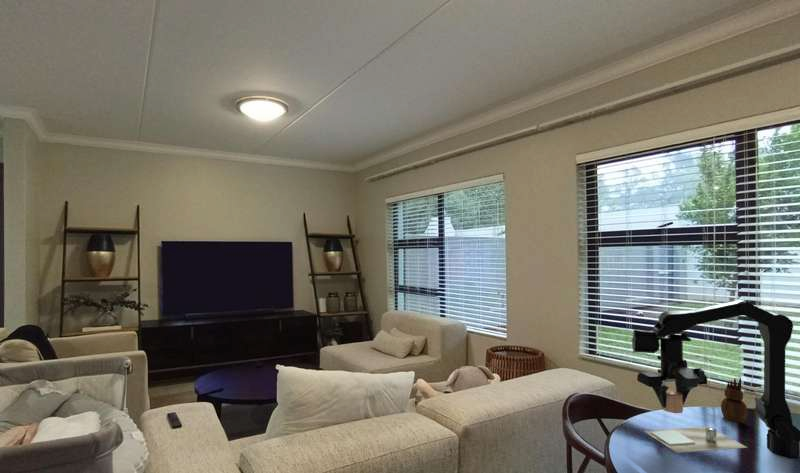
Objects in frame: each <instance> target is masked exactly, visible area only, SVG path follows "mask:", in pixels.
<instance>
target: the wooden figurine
mask: <svg viewBox="0 0 800 473" xmlns="http://www.w3.org/2000/svg"><path fill="white" fill-rule="evenodd" d="M726 384H727V385H726V388H725V389H724V396H725V397H724V398H723V399H722V400H721V402H720V411H721V414H722V416H723V418H724V419H725V420H726V421H727V420H728V421H730V422H734V423H739V424H740V423H741V424H744V423H745V421H746V419H747V416H748V407H747V405H746V403H745V402H744V401H743V398H744V393H743V391H742V377H739V379H738V383H737V380H736V378H734V380H733V381H732V380H730V382H727V383H726Z"/></svg>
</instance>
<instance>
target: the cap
mask: <svg viewBox="0 0 800 473" xmlns="http://www.w3.org/2000/svg"><path fill="white" fill-rule="evenodd" d="M661 409H662V410H663V411H665V412H668V413H673V414H682V413H683V412H684V405H683V395H682V393H680V392H677V391H676V390H673V389H668V390H667V391H666V408H664V407H662V406H661Z"/></svg>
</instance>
